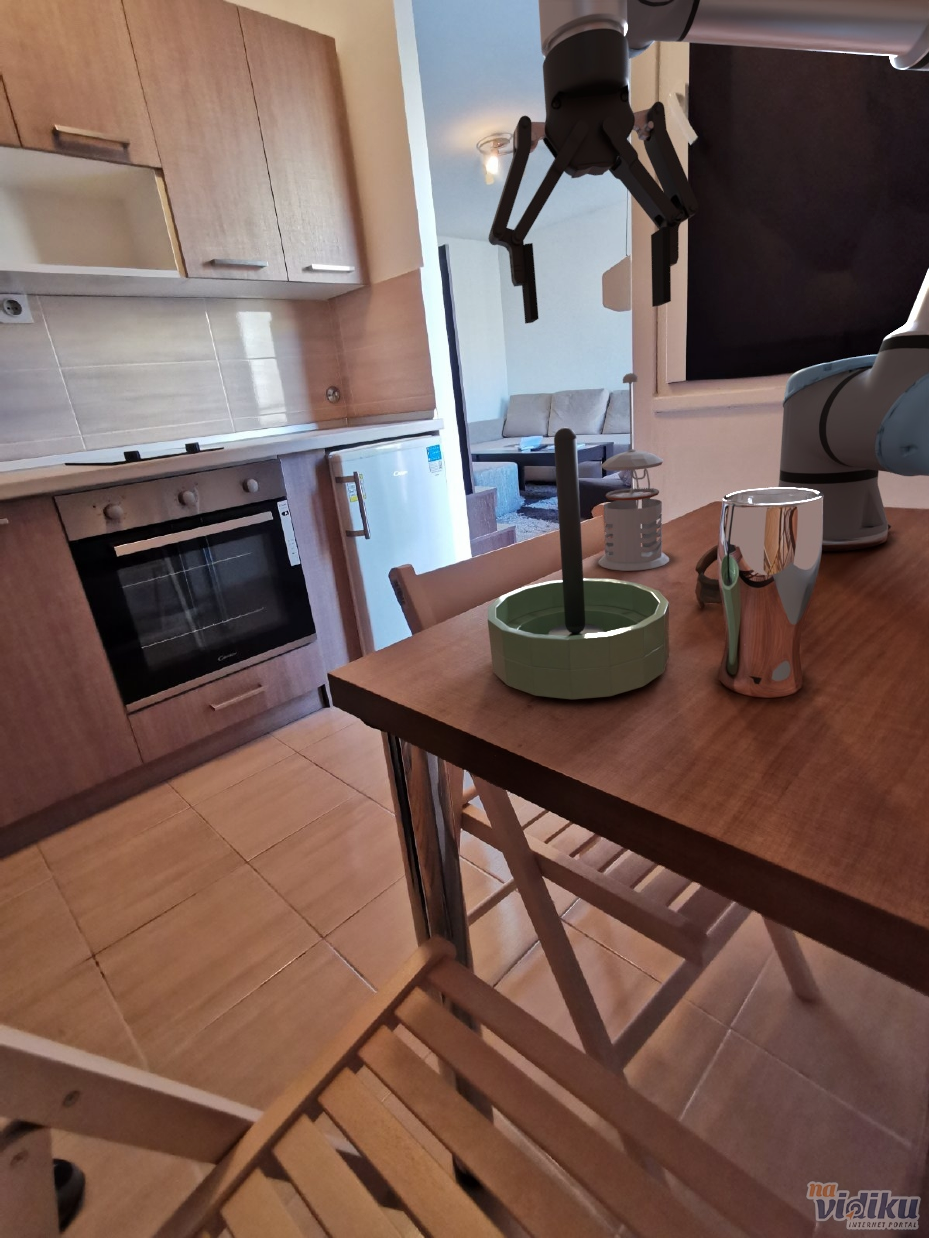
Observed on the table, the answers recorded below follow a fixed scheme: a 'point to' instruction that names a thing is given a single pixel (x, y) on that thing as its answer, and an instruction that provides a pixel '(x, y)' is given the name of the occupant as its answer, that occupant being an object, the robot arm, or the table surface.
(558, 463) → the rod on round base
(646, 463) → the french press
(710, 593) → the brown curved piece
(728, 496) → the beer glass
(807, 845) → the table surface
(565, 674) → the bowl
